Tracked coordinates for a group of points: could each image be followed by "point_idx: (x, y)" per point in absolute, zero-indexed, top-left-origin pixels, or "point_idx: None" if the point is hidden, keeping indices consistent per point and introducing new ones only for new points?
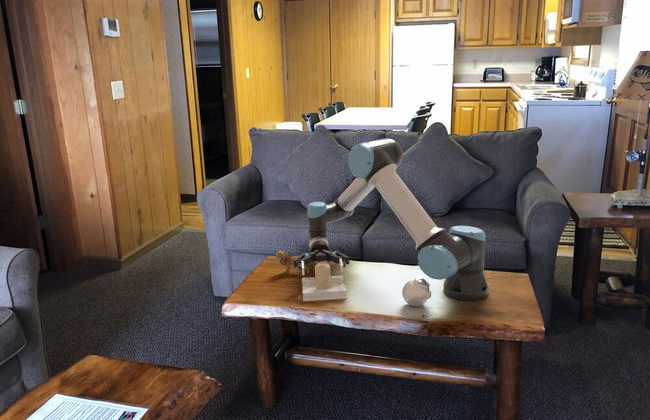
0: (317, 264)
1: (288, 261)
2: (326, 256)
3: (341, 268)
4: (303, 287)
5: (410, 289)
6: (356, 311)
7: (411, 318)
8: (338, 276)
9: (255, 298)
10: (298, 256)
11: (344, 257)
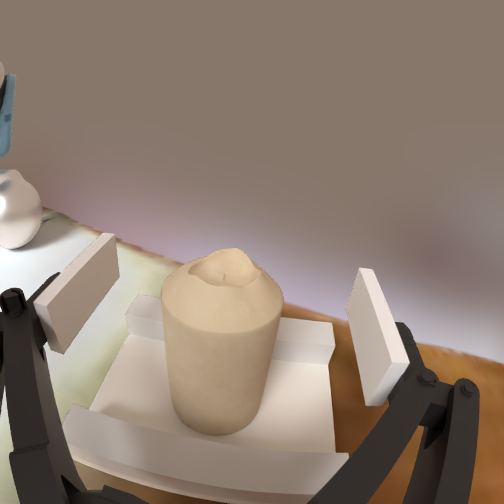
0: (264, 277)
1: None
2: (89, 492)
3: (115, 251)
4: (329, 444)
5: (33, 187)
6: (155, 260)
7: (71, 219)
8: (86, 437)
9: (494, 392)
10: (470, 486)
11: (5, 301)
